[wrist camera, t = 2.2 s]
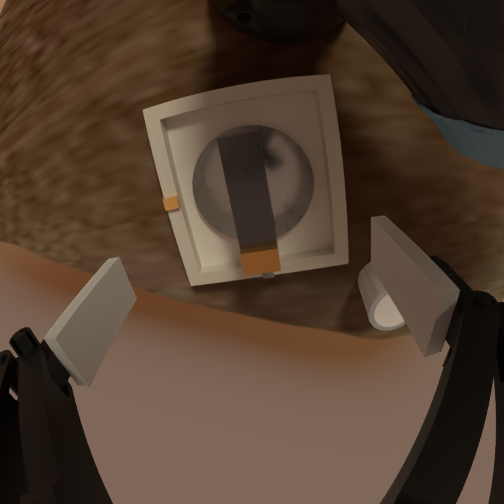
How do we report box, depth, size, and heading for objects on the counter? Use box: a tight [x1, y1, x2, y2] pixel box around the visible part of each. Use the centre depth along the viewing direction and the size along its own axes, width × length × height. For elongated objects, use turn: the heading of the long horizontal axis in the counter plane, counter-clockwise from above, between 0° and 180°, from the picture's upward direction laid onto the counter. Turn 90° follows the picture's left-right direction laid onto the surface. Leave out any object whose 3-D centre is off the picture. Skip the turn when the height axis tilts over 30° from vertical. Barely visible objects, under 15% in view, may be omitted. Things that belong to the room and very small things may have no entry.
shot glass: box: [358, 262, 405, 331], centre depth 32 cm, size 7×7×7 cm
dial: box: [192, 125, 314, 276], centre depth 24 cm, size 12×12×8 cm
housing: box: [143, 74, 349, 286], centre depth 28 cm, size 20×18×4 cm
